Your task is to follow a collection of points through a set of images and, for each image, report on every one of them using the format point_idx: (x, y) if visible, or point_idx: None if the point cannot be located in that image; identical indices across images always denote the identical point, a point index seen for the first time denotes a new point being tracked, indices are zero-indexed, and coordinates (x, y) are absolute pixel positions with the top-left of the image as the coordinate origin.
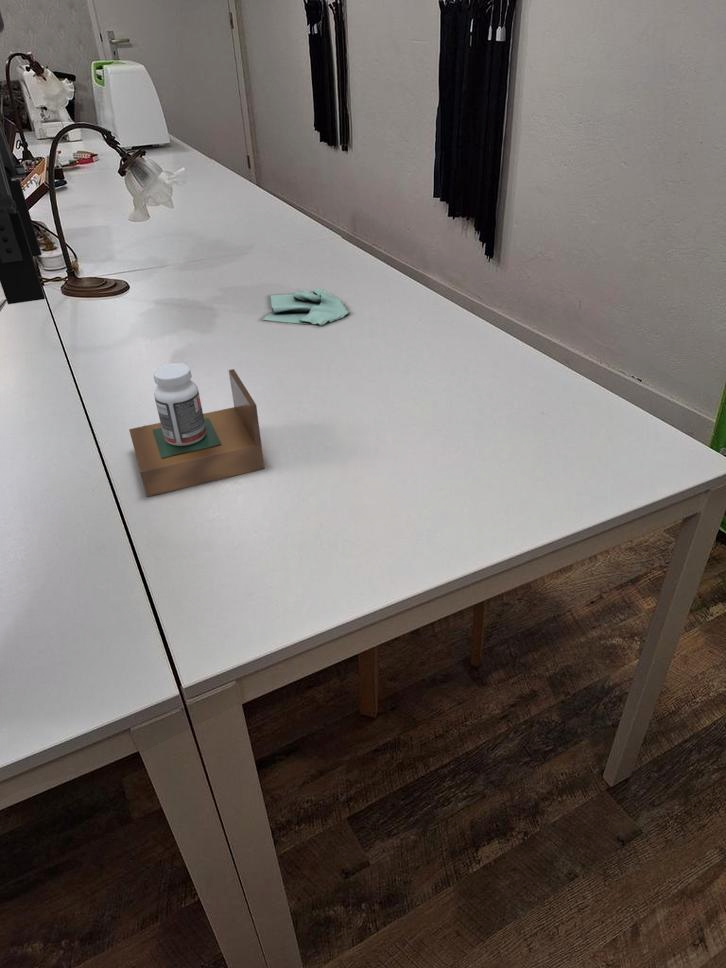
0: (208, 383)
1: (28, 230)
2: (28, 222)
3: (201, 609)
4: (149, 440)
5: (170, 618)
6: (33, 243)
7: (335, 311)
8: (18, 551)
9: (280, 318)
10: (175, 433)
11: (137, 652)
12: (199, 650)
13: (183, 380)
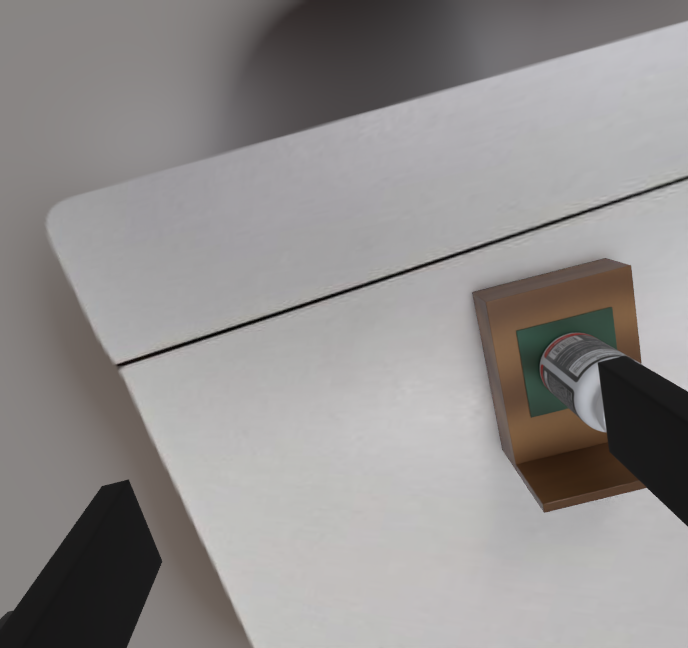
0: None
1: (657, 484)
2: (678, 508)
3: (227, 380)
4: (580, 305)
5: (217, 347)
6: (629, 461)
7: None
8: (380, 123)
9: None
10: (550, 363)
11: (168, 317)
12: (164, 382)
13: (604, 429)
